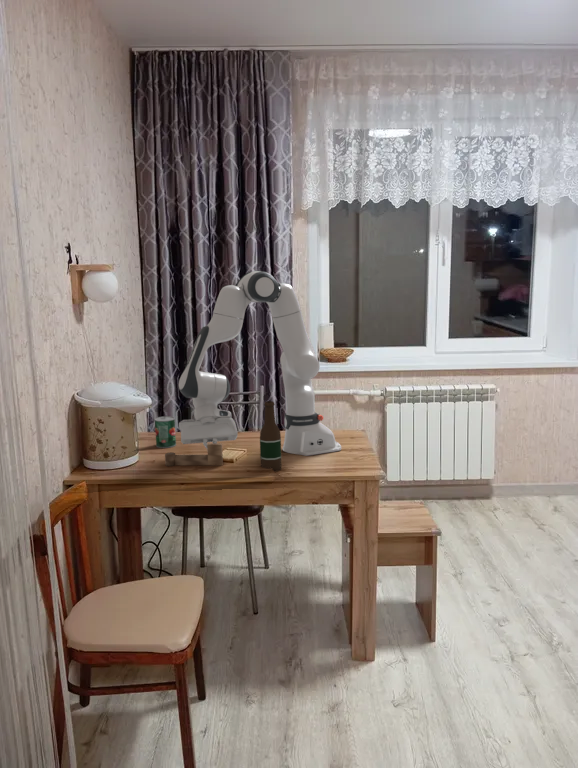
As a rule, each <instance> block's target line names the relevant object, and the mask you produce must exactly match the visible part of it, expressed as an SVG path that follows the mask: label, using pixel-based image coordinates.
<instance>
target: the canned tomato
mask: <svg viewBox="0 0 578 768" xmlns="http://www.w3.org/2000/svg"><path fill="white" fill-rule="evenodd" d="M154 429H155V431H154V432H155V446H156V448H159V449H168V448H173V447H175V446H177V438H176V419H175V416H170V415H169V416H167V415H166V416H165V415H164V416H158V417H154Z"/></svg>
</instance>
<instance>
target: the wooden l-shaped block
mask: <svg viewBox="0 0 578 768" xmlns="http://www.w3.org/2000/svg"><path fill="white" fill-rule="evenodd" d="M206 451H208V452H207V454H176V452H166V453H164V460H165V461H164V462H165V467H175V466H223V464H224V460H223V443H222V442H221V443H218V442H217V443H213V442H211V443H207V448H206Z"/></svg>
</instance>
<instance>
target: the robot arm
mask: <svg viewBox="0 0 578 768" xmlns="http://www.w3.org/2000/svg"><path fill="white" fill-rule="evenodd" d="M251 303H266V304H267V305H268V307H269V309H270V315H271V317H272V321H273V325H274V330H275V333H276V337H277V338H276V339H278V342H279V343H280V346H281V348H282V353H281V355H280V359H279V360H280V365H281V373H282V381H283V386H284V397H285V413H284V428H285V434H284V442H283V444H282V445H283V446H282V447H281V450H282V451H283V452H285V453H288V454H293V455H294V454H295V455H302V456H305V457H306V456H313V455H314V456H315V455H320V454H328V453H333V452H340V451H341V450H342V445H341V444H340V442H338V441H336V438H335V434H334V432H333V431H332V430H331V429H330V428H329V427H327V426H326V425H325V424H323V423H322V421H323V420H324V415H322V414H319V413H317V412H316V410H315V408H316V407H315V405H316V404H315V401H316V400H315V399H316V398H315V391H314V386H313V382H312V379H314V378H315V377H316V376H317V375H318V373H319V371H320V362H319V360H318V357H317V355H316V351H315V349H314V346H313V344H312V341H311V339H310V337H309V334H308V332H307V328H306V324H305V321H304V315H303V313H302V309H301V305H300V302H299V298H298V296H297V293H296V292H295V289H294V288H293V286H292V285H291V284H289V283H285V282H284V283H283V282H282V283H281V282H278V280H276V278H275V277H274V276H273V275H272V274H271V273H269V272H266V271H261V270H257V271H255V270H254V271H251V272H247V273H245V274H244V275H242V277H240V278H239V280H238V281H237V282H236V283H235V285H233V284H231V285H230V284H229V285H225V286H223V287H222V288H221V290H220V291H219V294H218V296H217V298H216V302H215V305H214V309H213V313H212V317H211V319H210V321H209V322H208V323H207V325H205V326H203V327H201V329H199V332H198V334H197V336H196V338H195V341H194V343H193V347H192V349H191V352H190V355H189V357H188V359H187V362H186V365H185V367H184V369H183V371H182V373H181V375H180V378H179V380H178V390H179V392H180V393H181V394H182V396H183V397H185V398H186V399H192V404H193V406H194V410H193V415H194V416H193V417H194V418H191V419H182V420H181V421H179V423H178V429H179V431H180V442H181V443H182V445H188V444H189V445H191V444H202V445H203V446H204V447H205V449H207V444H208V443H218V442H227V441H236V439H237V438H238V429H237V425H236V423H235V420H234V419H233V418H232V412H231V411H229V410H224V409H219V408H218V404H221V403H222V402H224V401H225V400H226V399H227V398H228V397H229V395H230V392H231V385H230V381H229V379H228V377H227V376H226V375H225V374H220V373H214V372H206V371H200V368H201V365H202V363H203V360H204V358H205V355H206V353H207V351H208V349H209V348H210V347H211V346H213V345H216V344H219V343H224V342H229V341H232V340H233V339H235V338H236V337H237V336H238V335H239V334H240V333H241V331H242V328H243V323H244V319H245V313H246V309H247V307H248V306H249V304H251ZM206 451H207V450H206ZM207 453H208V451H207Z"/></svg>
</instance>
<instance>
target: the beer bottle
mask: <svg viewBox="0 0 578 768" xmlns="http://www.w3.org/2000/svg"><path fill="white" fill-rule="evenodd" d="M263 405H264V408H265V409H264V423H263V426H262V428H261V429H260V432H259V433H260V434H259V450H260V451H259V455H260V468H264V469H272V471H273V472H274V473H276V472H279V471H281V470H282V438H281V431H280V428H279V426H278V425H277V423H276V416H275V401H274V400H273V401H272V400H269V401H265V402H264V404H263Z"/></svg>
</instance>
